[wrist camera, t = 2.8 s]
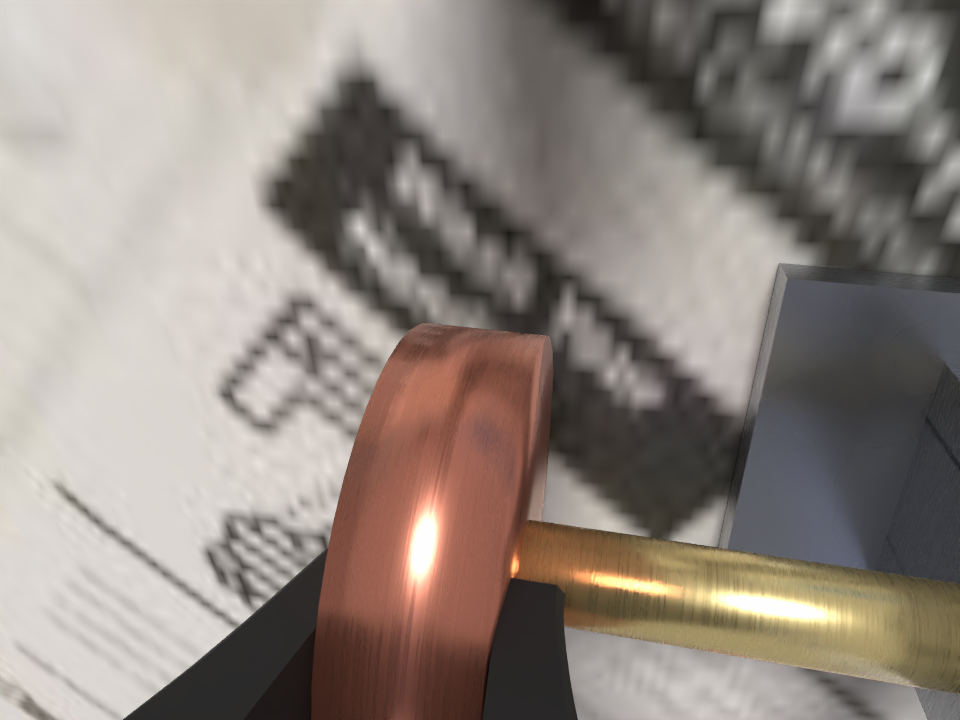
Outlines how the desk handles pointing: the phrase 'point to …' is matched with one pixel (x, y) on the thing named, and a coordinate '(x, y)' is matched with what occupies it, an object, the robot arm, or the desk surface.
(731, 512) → the eye post
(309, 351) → the desk surface
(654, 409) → the desk surface
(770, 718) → the desk surface
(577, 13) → the desk surface
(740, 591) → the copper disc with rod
